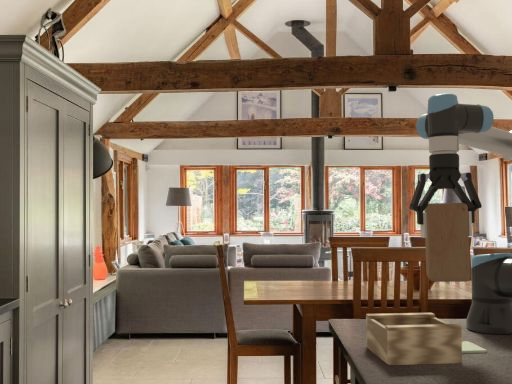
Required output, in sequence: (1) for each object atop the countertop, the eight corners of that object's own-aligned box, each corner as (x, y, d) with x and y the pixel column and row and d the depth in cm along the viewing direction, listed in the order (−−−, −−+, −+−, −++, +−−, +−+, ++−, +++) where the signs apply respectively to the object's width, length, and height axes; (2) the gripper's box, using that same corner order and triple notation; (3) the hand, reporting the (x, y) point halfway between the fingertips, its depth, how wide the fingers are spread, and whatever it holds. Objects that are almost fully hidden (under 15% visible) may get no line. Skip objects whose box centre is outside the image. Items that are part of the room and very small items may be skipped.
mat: (468, 343, 160) (468, 341, 160) (486, 352, 150) (486, 350, 150) (433, 344, 159) (433, 342, 159) (449, 353, 149) (449, 351, 149)
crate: (431, 345, 158) (431, 312, 158) (461, 362, 140) (461, 325, 140) (366, 347, 156) (366, 313, 156) (388, 365, 138) (388, 327, 138)
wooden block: (470, 282, 147) (468, 202, 148) (429, 282, 149) (427, 203, 150) (464, 277, 157) (462, 202, 157) (426, 277, 159) (423, 203, 159)
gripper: (480, 154, 159) (482, 234, 158) (395, 155, 156) (397, 237, 156) (494, 151, 151) (496, 236, 151) (405, 153, 149) (407, 238, 148)
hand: (446, 236), depth 153 cm, fingers closed on wooden block, 11 cm apart
